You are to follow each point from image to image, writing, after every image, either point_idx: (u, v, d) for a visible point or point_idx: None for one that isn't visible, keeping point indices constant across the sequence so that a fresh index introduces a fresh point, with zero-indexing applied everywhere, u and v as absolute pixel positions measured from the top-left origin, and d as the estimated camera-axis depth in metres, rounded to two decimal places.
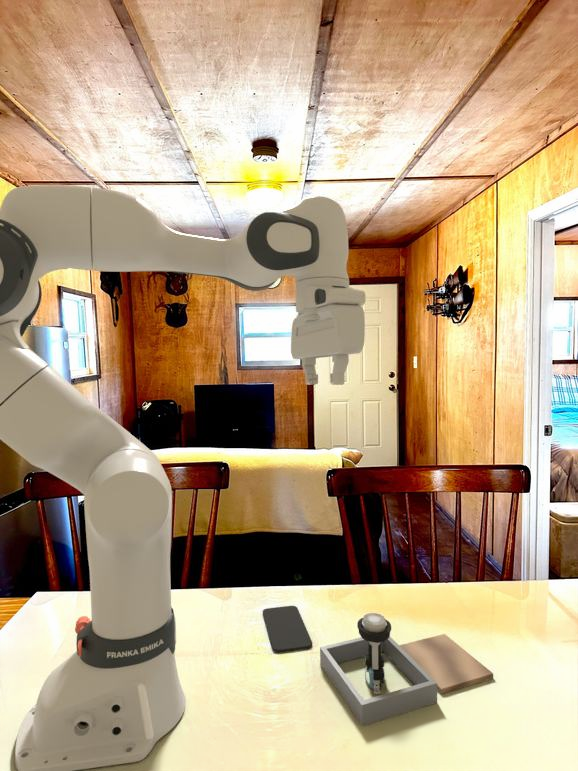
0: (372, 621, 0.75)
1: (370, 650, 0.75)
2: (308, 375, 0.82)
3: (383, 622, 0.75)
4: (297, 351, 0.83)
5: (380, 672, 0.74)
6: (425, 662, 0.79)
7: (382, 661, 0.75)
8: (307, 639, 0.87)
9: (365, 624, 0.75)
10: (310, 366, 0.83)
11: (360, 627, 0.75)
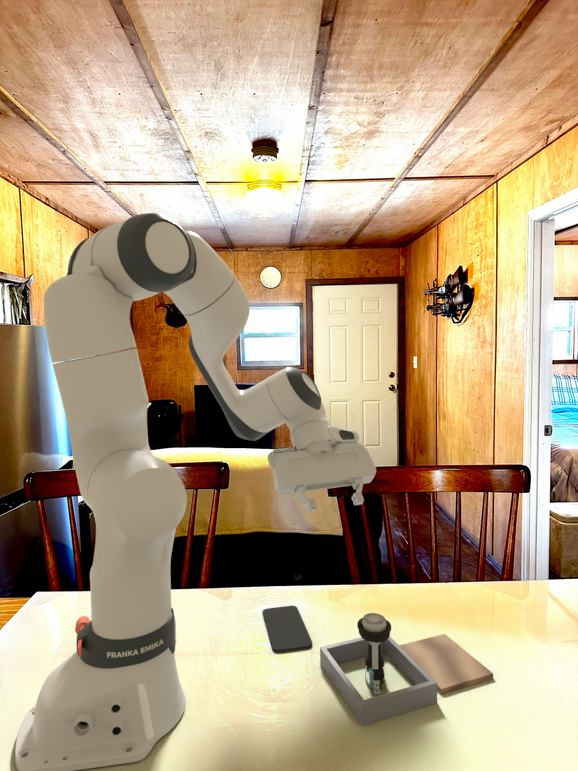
0: (372, 621, 0.75)
1: (370, 650, 0.75)
2: (313, 499, 0.87)
3: (383, 622, 0.75)
4: (296, 478, 0.88)
5: (380, 672, 0.74)
6: (425, 662, 0.79)
7: (382, 661, 0.75)
8: (307, 639, 0.87)
9: (365, 624, 0.75)
10: None
11: (360, 627, 0.75)
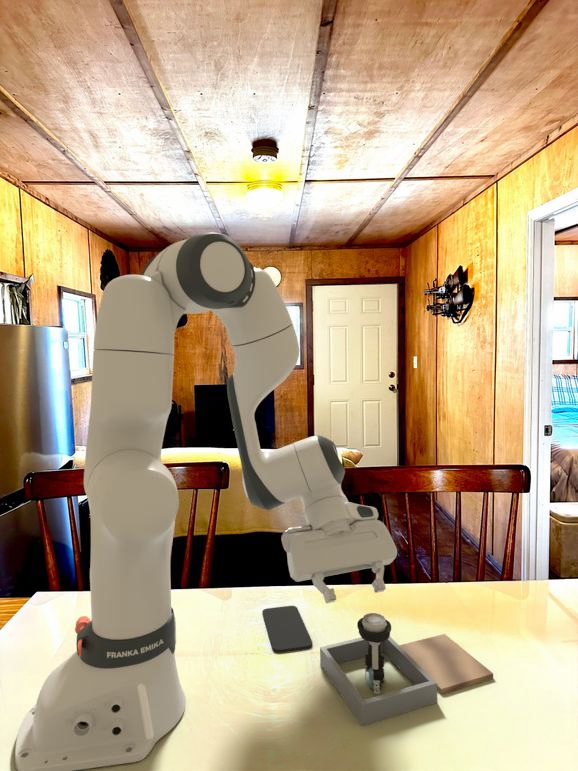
0: (372, 621, 0.75)
1: (370, 650, 0.75)
2: (332, 589, 0.80)
3: (383, 622, 0.75)
4: (314, 564, 0.81)
5: (380, 672, 0.74)
6: (425, 662, 0.79)
7: (382, 661, 0.75)
8: (307, 639, 0.87)
9: (365, 624, 0.75)
10: None
11: (360, 627, 0.75)
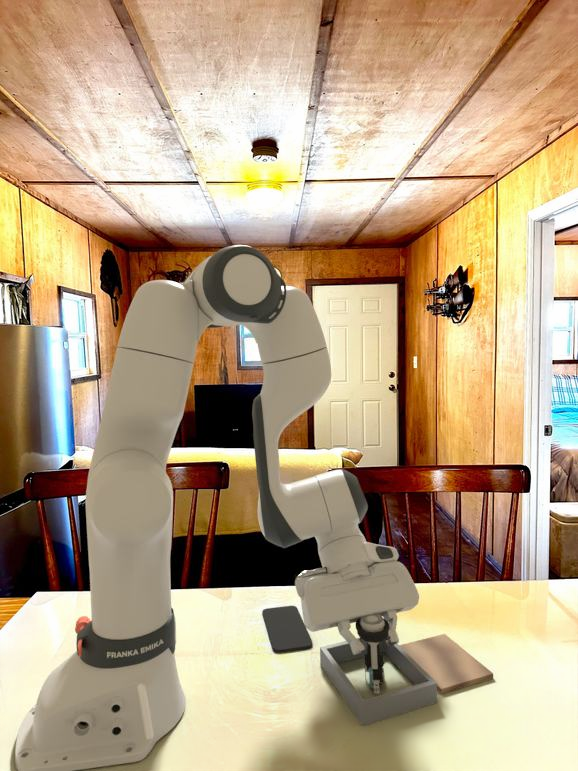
0: (370, 621, 0.75)
1: (369, 650, 0.75)
2: (360, 639, 0.74)
3: (381, 622, 0.74)
4: (331, 613, 0.75)
5: (379, 672, 0.74)
6: (425, 662, 0.79)
7: (381, 661, 0.75)
8: (307, 639, 0.87)
9: (363, 624, 0.75)
10: None
11: (358, 627, 0.75)
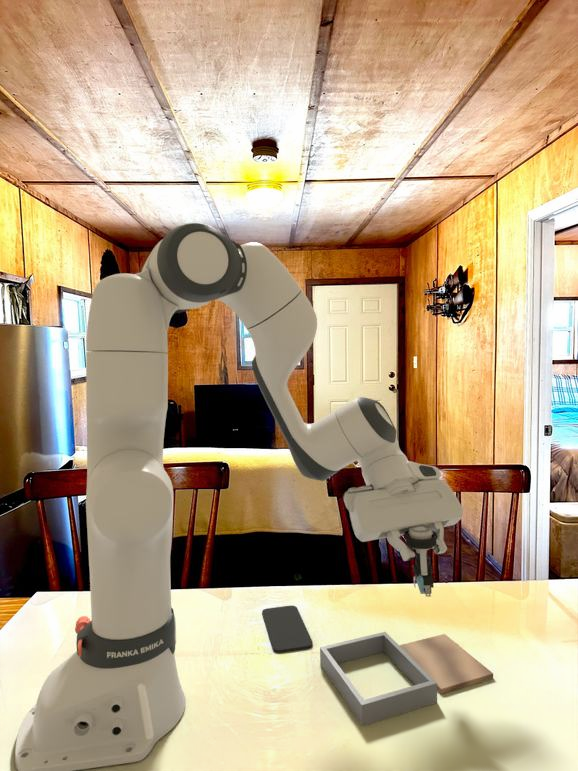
0: (419, 530, 0.77)
1: (418, 558, 0.78)
2: (410, 546, 0.77)
3: (429, 530, 0.77)
4: (381, 523, 0.77)
5: (429, 577, 0.76)
6: (425, 662, 0.79)
7: (430, 568, 0.78)
8: (307, 639, 0.87)
9: (412, 533, 0.77)
10: None
11: (407, 537, 0.78)
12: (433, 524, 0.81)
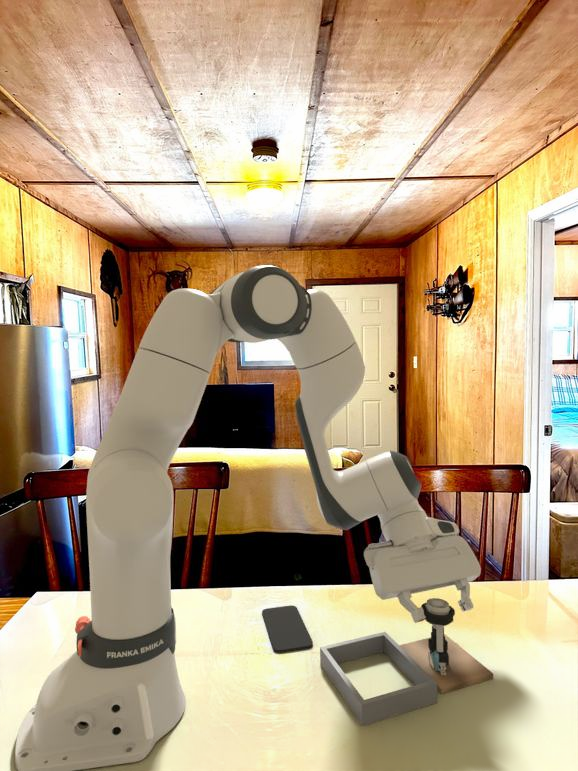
0: (436, 605, 0.78)
1: (434, 634, 0.78)
2: (421, 608, 0.78)
3: (447, 606, 0.77)
4: (401, 582, 0.79)
5: (445, 655, 0.76)
6: (425, 662, 0.79)
7: (446, 644, 0.77)
8: (307, 639, 0.87)
9: (430, 608, 0.77)
10: None
11: (425, 611, 0.78)
12: (459, 580, 0.83)
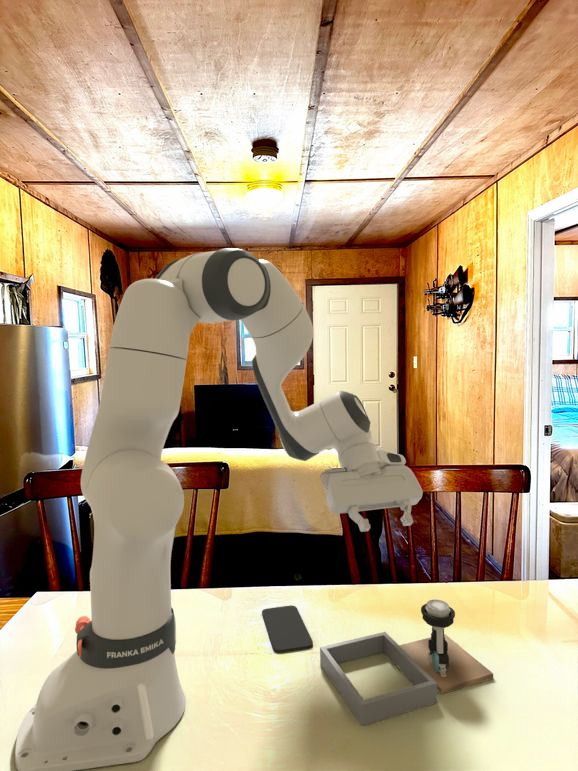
0: (436, 607, 0.77)
1: (434, 635, 0.78)
2: (366, 519, 0.90)
3: (447, 608, 0.77)
4: (350, 498, 0.91)
5: (445, 656, 0.76)
6: (425, 662, 0.79)
7: (446, 646, 0.77)
8: (308, 639, 0.87)
9: (430, 610, 0.77)
10: None
11: (425, 613, 0.77)
12: (403, 501, 0.95)
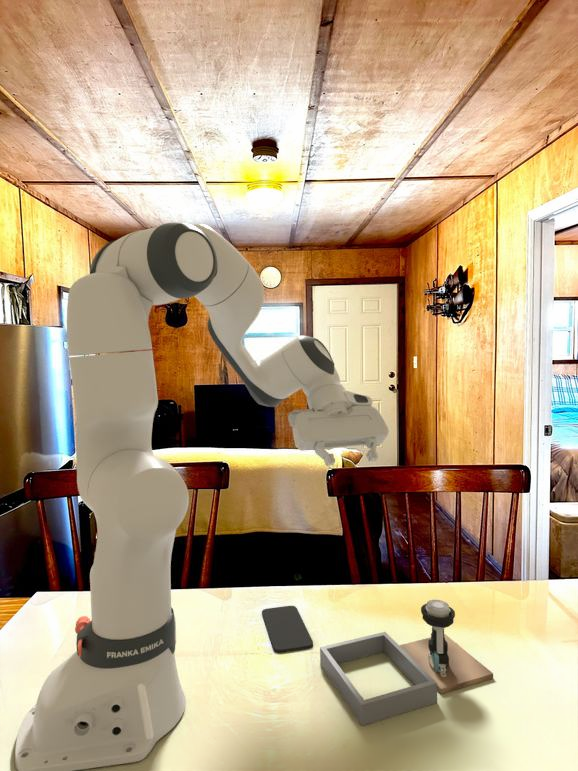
0: (436, 607, 0.77)
1: (434, 635, 0.78)
2: (331, 454, 0.92)
3: (447, 608, 0.77)
4: (316, 434, 0.94)
5: (445, 656, 0.76)
6: (425, 662, 0.79)
7: (446, 646, 0.77)
8: (308, 639, 0.87)
9: (430, 610, 0.77)
10: None
11: (425, 613, 0.77)
12: (368, 439, 0.97)
